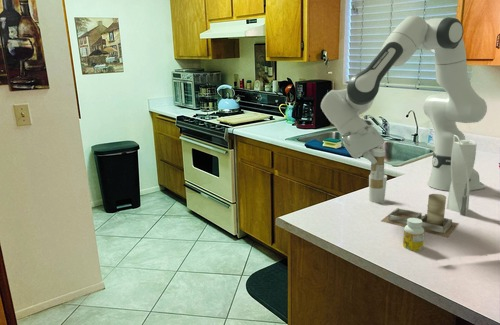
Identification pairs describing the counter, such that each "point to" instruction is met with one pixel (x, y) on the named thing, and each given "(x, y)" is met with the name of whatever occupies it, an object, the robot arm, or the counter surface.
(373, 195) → the white and black cylinder
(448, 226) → the brown holder tray
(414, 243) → the supplement bottle
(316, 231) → the counter surface
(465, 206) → the skyscraper
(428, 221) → the birch pin
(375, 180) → the sprinkles bottle
